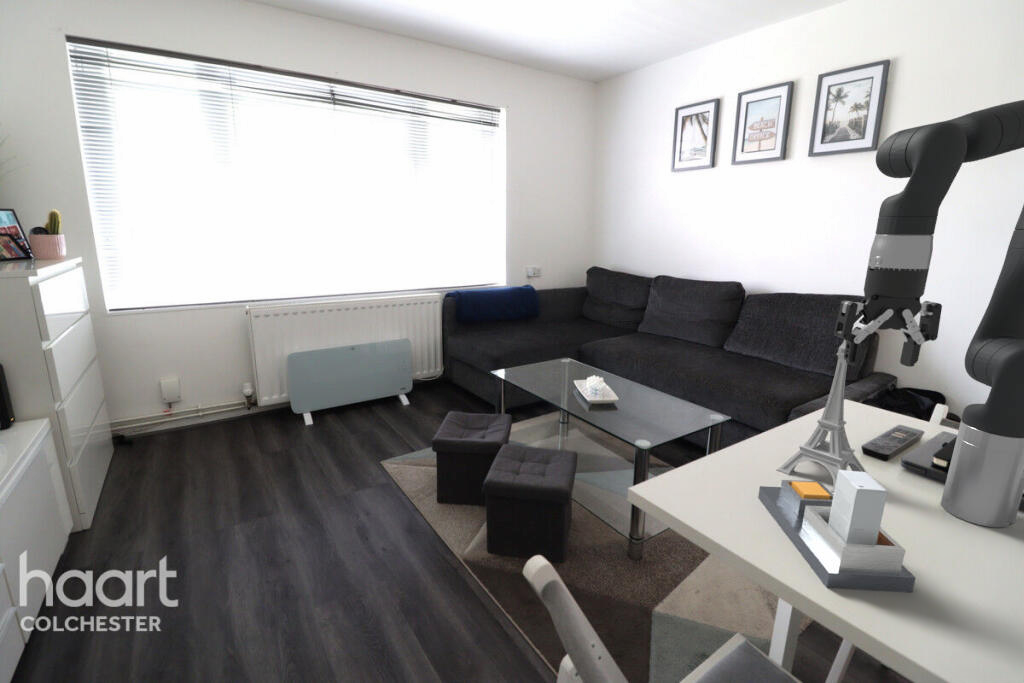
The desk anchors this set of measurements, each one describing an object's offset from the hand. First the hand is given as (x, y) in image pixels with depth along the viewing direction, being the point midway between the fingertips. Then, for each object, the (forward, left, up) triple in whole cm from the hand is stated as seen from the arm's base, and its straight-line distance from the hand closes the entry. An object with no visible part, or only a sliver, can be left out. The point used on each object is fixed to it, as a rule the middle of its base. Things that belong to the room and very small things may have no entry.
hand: (878, 365), depth 79 cm
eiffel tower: (-6, -19, -30) cm, 36 cm away
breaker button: (+6, -2, -27) cm, 28 cm away
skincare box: (+6, +10, -28) cm, 30 cm away
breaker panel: (+6, +4, -30) cm, 31 cm away
